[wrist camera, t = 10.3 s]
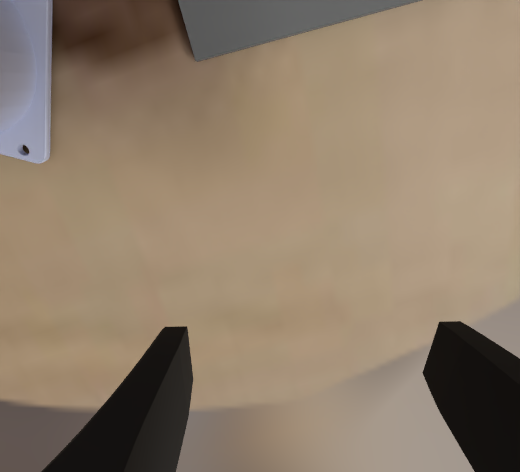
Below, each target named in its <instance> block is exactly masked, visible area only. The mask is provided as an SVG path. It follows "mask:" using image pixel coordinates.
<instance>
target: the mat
mask: <svg viewBox="0 0 520 472" xmlns="http://www.w3.org/2000/svg"><path fill="white" fill-rule="evenodd" d="M418 1H421V0H178V2H179V5H180V9H181V12H182V16H183V19H184V23H185V26H186V30H187V33H188V37H189V40H190V44H191V47H192V50H193V54H194V57H195V61H197V62H198V61H202V60H206V59H209V58H213V57H217V56H220V55H224V54H228V53H231V52H235V51H239V50H242V49H246V48H250V47H253V46H257V45H260V44H264V43H268V42H271V41H275V40H279V39H282V38H286V37H290V36H293V35H297V34H301V33H304V32H308V31H312V30H315V29H319V28H323V27H326V26H330V25H334V24H337V23H341V22H345V21H348V20H352V19H355V18H359V17H363V16H366V15H370V14H374V13H377V12H381V11H385V10H388V9H392V8H396V7H399V6H403V5H407V4H410V3H414V2H418Z"/></svg>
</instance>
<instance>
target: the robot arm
mask: <svg viewBox="0 0 520 472" xmlns="http://www.w3.org/2000/svg"><path fill="white" fill-rule="evenodd" d="M52 2H53V0H0V154H2V155H6V156H10V157H14V158H17V159H21V160H25V161H29V162H33V163H42V162H45V161H47V160H48V159H49V157H50V125H51V64H52ZM23 145H25V146H27V148H28V149H29V154H27V153H26V152H25V151H24V150H23ZM423 375H424V377H425V380H426V382H427V384H428V387H429V389H430V391H431V394H432V396H433V398H434V400H435V403H436V405H437V407H438V409H439V411H440V413H441V415H442V416H443V418H444V420H445V422H446V423H447V425H448V427H449V429H450V430H451V432H452V434H453V435H454V437H455V439H456V440H457V442H458V444H459V446H460V447H461V449H462V451H463V453H464V454H465V456H466V457H467V459H468V461H469V463H470V464H471V466H472V468H473V469H474V471H475V472H520V359H519V358H518V357H516V356H515V355H513V354H512V353H510V352H509V351H507V350H505V349H504V348H502V347H501V346H499V345H498V344H496V343H495V342H493V341H491V340H490V339H488V338H487V337H485V336H484V335H482V334H480V333H479V332H477V331H475V330H474V329H472V328H471V327H469V326H467V325H465V324H464V323H462V322H460V321H457V322H439V324H438V328H437V331H436V334H435V337H434V340H433V343H432V346H431V349H430V352H429V355H428V358H427V361H426V364H425V367H424V370H423ZM192 384H193V373H192V364H191V356H190V347H189V338H188V329H187V327H165V328H164V329H162V330H161V332H160V333H159V335H158V336H157V337H156V339H155V340H154V342H153V343H152V344H151V346H150V347H149V348H148V350H147V351H146V352H145V354H144V355H143V356H142V358H141V359H140V360H139V362H138V363H137V364H136V366H135V367H134V368H133V369H132V371H131V372H130V373H129V374H128V376H127V377H126V378H125V379H124V381H123V382H122V383H121V384H120V386H119V387H118V388H117V389H116V391H115V392H114V393H113V394H112V395H111V397H110V398H109V399H108V400H107V401H106V402H105V404H104V405H103V406H102V407H101V408H100V409H99V410H98V412H97V413H96V414H95V415H94V416H93V417H92V418H91V420H90V421H89V422H88V423H87V424H86V425H85V426H84V428H83V429H82V430H81V431H80V432H79V433H78V434H77V435H76V436H75V437H74V438H73V440H72V441H71V442H70V443H69V444H68V445H67V446H66V447H65V448H64V449H63V450H62V451H61V452H60V453H59V454H58V455H57V456H56V457H55V459H54V460H52V461H51V462H50V464H48V465H47V467H46V468H45V469H44V470H43V471H42V472H176V468H177V464H178V460H179V455H180V450H181V446H182V442H183V437H184V434H185V429H186V425H187V420H188V415H189V408H190V400H191V392H192Z"/></svg>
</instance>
